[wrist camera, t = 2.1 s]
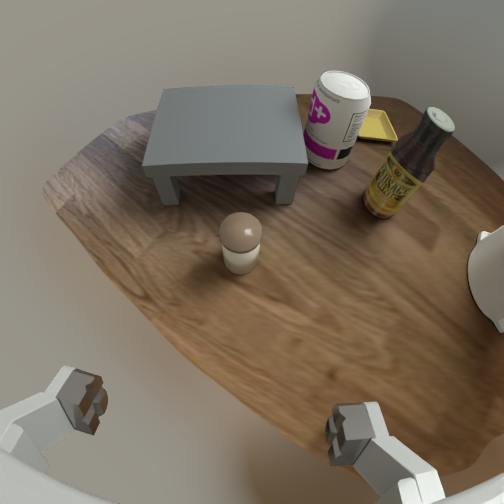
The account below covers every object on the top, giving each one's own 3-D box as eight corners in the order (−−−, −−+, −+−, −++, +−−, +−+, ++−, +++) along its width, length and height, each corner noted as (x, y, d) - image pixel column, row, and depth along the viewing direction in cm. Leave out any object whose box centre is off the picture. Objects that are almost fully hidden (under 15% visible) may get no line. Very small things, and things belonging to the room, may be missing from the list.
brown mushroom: (258, 242, 41) (261, 212, 34) (259, 275, 39) (263, 250, 32) (223, 242, 41) (219, 212, 34) (222, 275, 39) (218, 250, 32)
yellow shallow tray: (395, 147, 51) (399, 140, 49) (355, 143, 50) (358, 135, 48) (381, 117, 54) (384, 110, 52) (344, 113, 54) (346, 105, 52)
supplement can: (306, 172, 46) (326, 100, 32) (295, 136, 49) (309, 66, 36) (352, 171, 47) (383, 105, 33) (338, 136, 50) (361, 71, 36)
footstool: (286, 131, 50) (293, 87, 41) (295, 207, 44) (308, 163, 34) (173, 132, 49) (163, 89, 40) (159, 208, 43) (141, 166, 34)
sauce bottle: (353, 198, 45) (404, 102, 26) (377, 182, 46) (427, 92, 28) (382, 229, 43) (449, 143, 24) (404, 210, 44) (467, 127, 26)
